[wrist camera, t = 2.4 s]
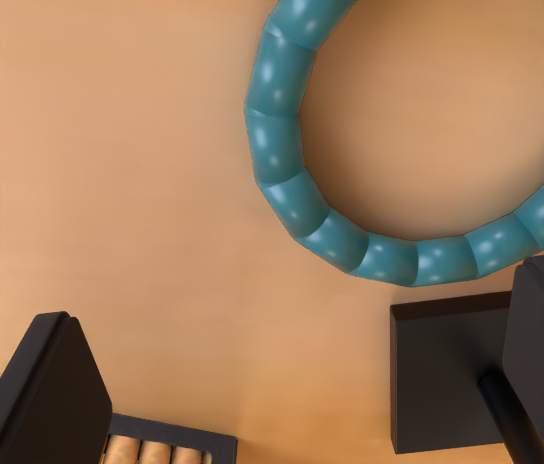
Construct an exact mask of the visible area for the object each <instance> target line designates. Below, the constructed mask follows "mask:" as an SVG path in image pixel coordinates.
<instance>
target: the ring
mask: <svg viewBox="0 0 544 464" xmlns="http://www.w3.org/2000/svg"><path fill="white" fill-rule="evenodd" d="M356 1H357V0H280V1H279V2H278V4H277V5H276V7H275V8H274V9H273V11H272V12H271V14H270V15H269V16H268V18H267V20H266V22H265V24H264V27H263V31H262V35H261V39H260V43H259V47H258V51H257V55H256V59H255V63H254V67H253V71H252V75H251V78H250V82H249V86H248V90H247V94H246V98H245V103H244V113H245V119H246V126H247V132H248V138H249V145H250V151H251V158H252V164H253V171H254V177H255V180H256V183H257V185H258V187H259V188H260V190H261V191H262V193H263V194H264V196H265V197H266V199H267V201H268V202H269V204H270V205H271V207H272V208H273V210H274V211H275V213H276V214H277V216H278V217H279V219H280V221H281V222H282V224H283V225H284V227H285V228H286V230H287V231H288V233H289V234H290V236H291V237H292V238H293V239H294V240H295V241H296V242H298V243H299V244H301V245H303V246H304V247H306V248H307V249H309V250H310V251H312V252H313V253H315V254H316V255H318V256H319V257H321V258H322V259H324V260H325V261H327V262H328V263H330V264H331V265H333V266H335V267H336V268H338V269H339V270H341V271H342V272H344V273H346V274H348V275H352V276H357V277H361V278H366V279H371V280H376V281H381V282H385V283H390V284H395V285H400V286H404V287H420V286H429V285H437V284H445V283H454V282H462V281H470V280H476V279H480V278H482V277H484V276H487V275H489V274H491V273H494V272H496V271H498V270H500V269H503V268H505V267H507V266H510V265H512V264H514V263H517V262H519V261H521V260H523V259H525V258H527V257H530V256H533V255H535V254H537V253H539V252H542V251H543V250H544V185H543V186H542V187H540V188H539V189H538V190H537V191H536V192H535V193H534V194H533V195H531V196H530V197H529V198H528V199H527V200H526V201H525V202H524V203H522V204H521V205H520V206H519V207H518V208H517V209H516V210H514V211H513V212H512V213H510V214H508V215H505V216H503V217H501V218H499V219H497V220H495V221H492V222H490V223H488V224H486V225H484V226H481V227H479V228H477V229H475V230H473V231H471V232H468V233H466V234H464V235H461V236H453V237H445V238H437V239H428V240H420V241H407V240H403V239H398V238H394V237H389V236H385V235H381V234H376V233H372V232H367V231H365V230H363V229H362V228H360V227H359V226H358V225H356V224H355V223H353V222H352V221H350V220H349V219H348V218H346V217H345V216H343V215H342V214H341V213H339V212H338V211H336V210H335V209H333V208H332V207H331V206H329V205H328V203H327V202H326V200H325V198H324V197H323V195H322V193H321V191H320V190H319V188H318V186H317V185H316V183H315V181H314V179H313V178H312V176H311V174H310V172H309V171H308V169H307V167H306V166H305V164H304V154H303V144H302V134H301V124H300V114H299V110H300V106H301V103H302V100H303V97H304V93H305V90H306V87H307V84H308V80H309V77H310V74H311V71H312V68H313V64H314V61H315V58H316V55H317V51H318V50H319V48H320V47H321V46H322V45H323V43H324V42H325V41H326V39H327V38H328V37H329V36H330V34H331V33H332V32H333V31H334V29H335V28H336V27H337V26H338V24H339V23H340V22H341V20H342V19H343V18H344V17H345V15H346V14H347V13H348V12H349V10H350V9H351V8H352V6H353V5H354V4H355V3H356Z"/></svg>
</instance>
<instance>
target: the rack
mask: <svg viewBox="0 0 544 464" xmlns="http://www.w3.org/2000/svg"><path fill="white" fill-rule="evenodd" d="M511 296H512V291H508V292H499V293H491V294H483V295H474V296H466V297H458V298H449V299H441V300H432V301H424V302H416V303H407V304H399V305H391V306H390V391H391V440H392V444H393V447H394V451H395V454H405V453H414V452H423V451H433V450H442V449H451V448H460V447H469V446H478V445H487V444H496V443H504V444H505V446H506V448H507V450H508V452H509V454H510V456H511V458H512V461H513V463H514V464H544V442H543V440H542V438H541V437H540V435H539V433H538V431H537V430H536V428H535V426H534V424H533V423H532V421H531V419H530V417H529V415H528V414H527V412H526V410H525V408H524V407H523V405H522V403H521V401H520V400H519V398H518V396H517V394H516V393H515V391H514V389H513V387H512V386H511V384H510V382H509V380H508V379H507V377H506V375H505V372H504V369H503V363H502V358H503V351H504V344H505V337H506V330H507V323H508V316H509V309H510V302H511Z"/></svg>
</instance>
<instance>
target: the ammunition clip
mask: <svg viewBox="0 0 544 464" xmlns="http://www.w3.org/2000/svg"><path fill="white" fill-rule="evenodd" d="M237 444H238V440H237V439H236V438H235V437H233V436H227V435H222V434H217V433H212V432H207V431H202V430H196V429H191V428H186V427H181V426H176V425H171V424H166V423H160V422H155V421H150V420H145V419H140V418H135V417H129V416H124V415H119V414H114V413H112V420H111V424H110V427H109V431H108V434H107V437H106V441H105V444H104V448H103V451H102V455H101V458H100V462H99V464H101V461H102V458H103V454H105V457H104V461H103V464H136V463H137V460H138V463H137V464H236V457H237Z"/></svg>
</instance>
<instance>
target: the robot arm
mask: <svg viewBox="0 0 544 464" xmlns="http://www.w3.org/2000/svg"><path fill="white" fill-rule="evenodd" d="M502 363H503V369H504V372H505V375H506V377H507V379H508V380H509V382H510V384H511V386H512V387H513V389H514V391H515V393H516V394H517V396H518V398H519V400H520V401H521V403H522V405H523V407H524V408H525V410H526V412H527V414H528V415H529V417H530V419H531V421H532V423H533V424H534V426H535V428H536V430H537V431H538V433H539V435H540V437H541V438H542V440H543V442H544V255H541V256H532V257H527V258H525V260H524V262H523V265H518V266H517V267H516V270H515V275H514V282H513V289H512V296H511V302H510V309H509V316H508V323H507V330H506V337H505V344H504V351H503V358H502ZM112 413H113V410H112V403H111V400H110V397H109V395H108V392H107V390H106V387H105V385H104V382H103V380H102V377H101V375H100V372H99V370H98V368H97V365H96V363H95V360H94V358H93V355H92V353H91V350H90V348H89V345H88V343H87V340H86V338H85V335H84V333H83V330H82V328H81V325H80V323H79V321H78V319H77V318H76V317H70V315H69V314H68V313H67V312H65V311H61V312H53V313H44V314H38V315H36V317H35V318H34V319H33V321H32V323H31V324H30V326H29V328H28V330H27V332H26V333H25V335H24V337H23V339H22V340H21V342H20V344H19V346H18V347H17V349H16V351H15V353H14V355H13V356H12V358H11V360H10V362H9V363H8V365H7V367H6V369H5V370H4V372H3V374H2V376H1V378H0V464H99V462H100V458H101V455H102V451H103V448H104V444H105V441H106V437H107V434H108V431H109V427H110V424H111V420H112Z"/></svg>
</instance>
